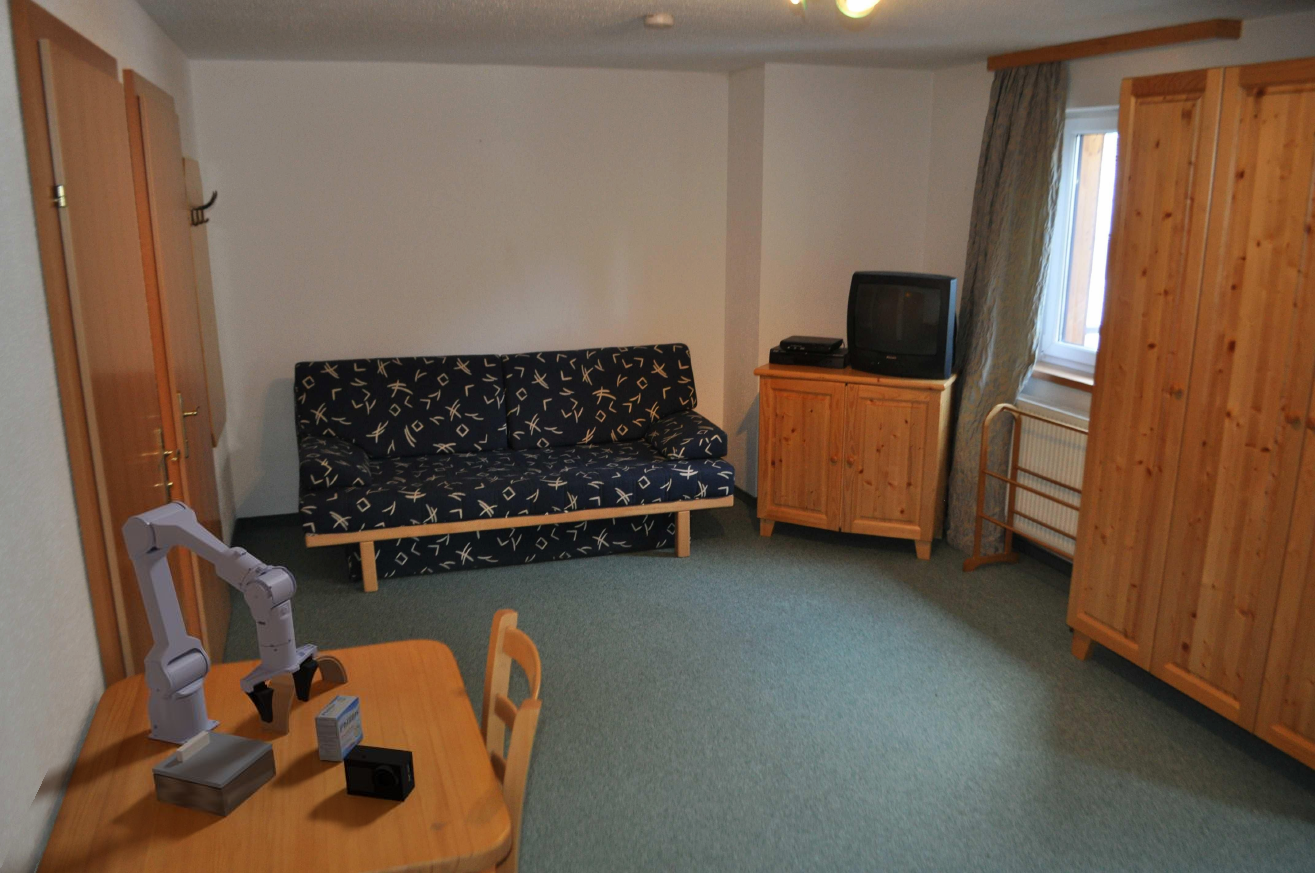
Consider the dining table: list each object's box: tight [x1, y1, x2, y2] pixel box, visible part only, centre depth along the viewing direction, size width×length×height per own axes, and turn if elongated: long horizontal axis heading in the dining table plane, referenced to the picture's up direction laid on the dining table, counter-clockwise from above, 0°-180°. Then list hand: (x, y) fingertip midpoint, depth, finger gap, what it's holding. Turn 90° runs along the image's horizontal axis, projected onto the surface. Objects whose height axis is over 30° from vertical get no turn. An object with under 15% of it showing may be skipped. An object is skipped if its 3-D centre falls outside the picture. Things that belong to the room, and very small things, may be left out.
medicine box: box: [314, 694, 364, 763], centre depth 173 cm, size 8×4×9 cm, turn 168°
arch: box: [260, 653, 349, 735], centre depth 188 cm, size 6×20×10 cm, turn 164°
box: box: [152, 748, 277, 818], centre depth 163 cm, size 14×12×5 cm
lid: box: [151, 730, 274, 788], centre depth 162 cm, size 14×12×3 cm
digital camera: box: [343, 744, 416, 803], centre depth 161 cm, size 10×5×7 cm, turn 77°
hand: (285, 710), depth 168 cm, fingers open, 7 cm apart
